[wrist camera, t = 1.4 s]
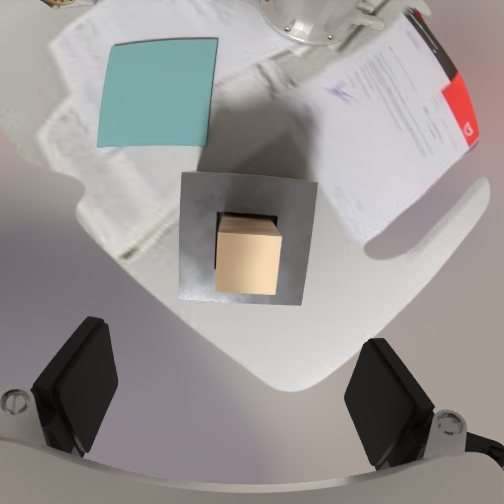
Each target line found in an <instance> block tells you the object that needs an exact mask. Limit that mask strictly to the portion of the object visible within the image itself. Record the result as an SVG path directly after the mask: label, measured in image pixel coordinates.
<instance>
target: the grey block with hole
mask: <svg viewBox="0 0 504 504" xmlns="http://www.w3.org/2000/svg"><path fill="white" fill-rule="evenodd" d="M317 185H318V183H317V182H312V181H307V180H302V179H297V178H288V177H277V176H267V175H255V174H242V173H227V172H208V171H190V172H182V177H181V197H180V226H179V299H187V300H201V301H215V302H231V303H249V304H272V305H301V303H302V297H303V291H304V285H305V278H306V272H307V265H308V258H309V251H310V243H311V236H312V228H313V220H314V212H315V203H316V194H317ZM224 212H235V213H249V214H263V215H268V216H269V217H270V219H271V220H272V222H273V223H274V225H275V226H276V228H277V230H278V231H279V233H280V234H281V236H282V241H281V250H280V259H279V268H278V276H277V285H276V293H275V295H266V294H247V293H229V292H215V283H216V259H217V239H218V230H219V227H220V223H221V220H222V216H223V213H224Z"/></svg>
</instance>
